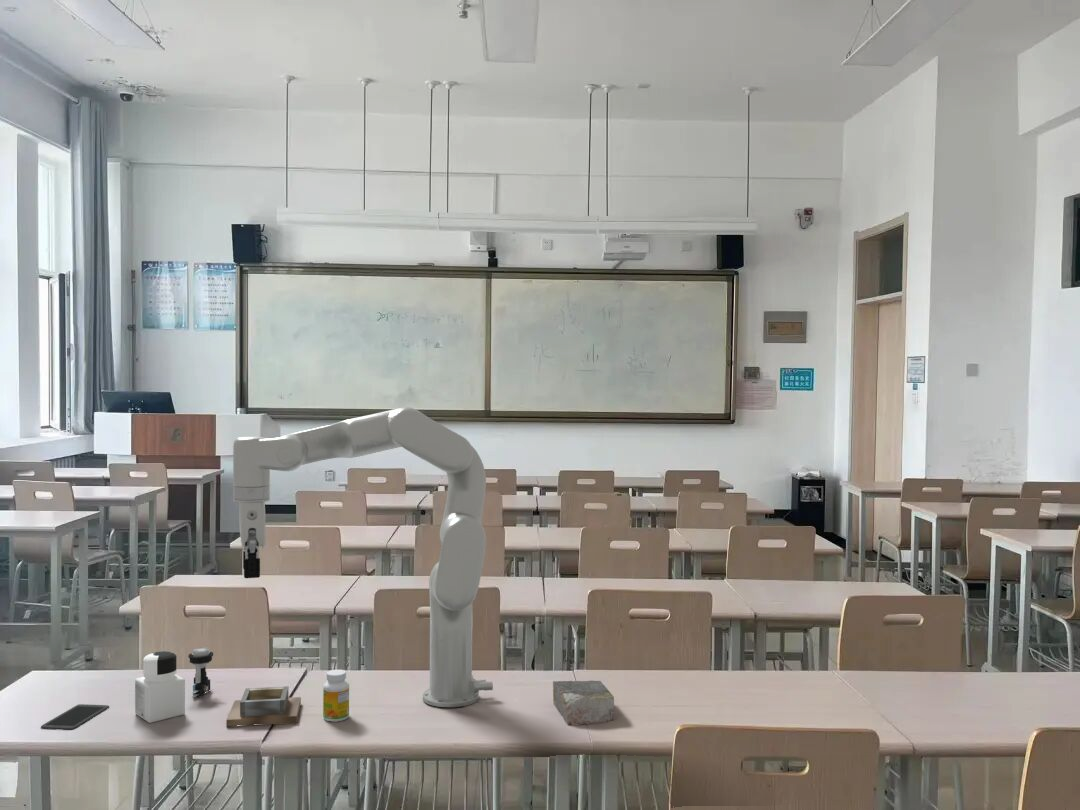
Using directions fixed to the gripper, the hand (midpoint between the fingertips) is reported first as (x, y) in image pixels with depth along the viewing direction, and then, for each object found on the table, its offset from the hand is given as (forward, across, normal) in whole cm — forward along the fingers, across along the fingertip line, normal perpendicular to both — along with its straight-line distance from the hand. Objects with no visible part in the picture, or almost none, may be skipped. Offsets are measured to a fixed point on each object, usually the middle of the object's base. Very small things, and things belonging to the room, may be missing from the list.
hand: (251, 573), depth 200 cm
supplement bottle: (+30, -10, -17) cm, 36 cm away
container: (+30, +4, +18) cm, 36 cm away
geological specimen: (+30, -22, -68) cm, 78 cm away
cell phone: (+31, +7, +35) cm, 47 cm away
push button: (+30, +14, +11) cm, 35 cm away
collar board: (+30, -4, -3) cm, 30 cm away
